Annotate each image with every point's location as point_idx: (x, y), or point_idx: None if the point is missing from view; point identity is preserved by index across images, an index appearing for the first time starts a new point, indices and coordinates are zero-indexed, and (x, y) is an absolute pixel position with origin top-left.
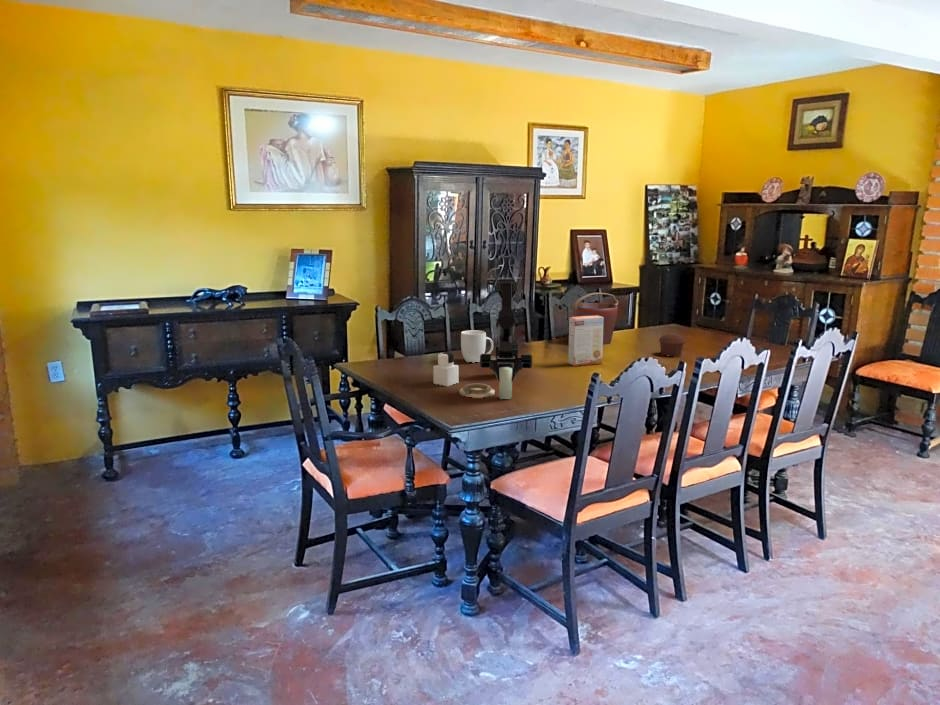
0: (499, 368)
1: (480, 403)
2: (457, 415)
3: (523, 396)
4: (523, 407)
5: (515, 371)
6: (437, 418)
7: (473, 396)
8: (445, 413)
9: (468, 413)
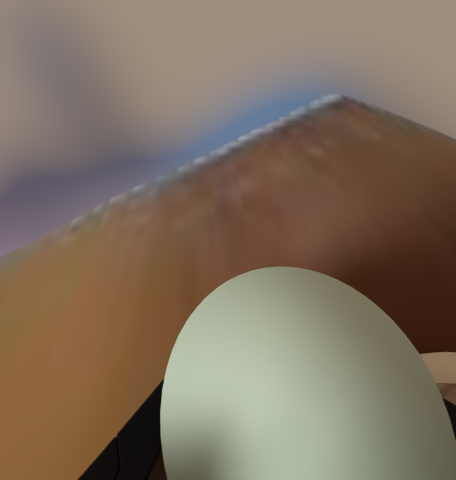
0: (424, 368)
1: (354, 260)
2: (368, 143)
3: None
4: (170, 235)
5: (120, 439)
6: (407, 121)
7: (450, 353)
8: (414, 150)
9: (345, 159)
